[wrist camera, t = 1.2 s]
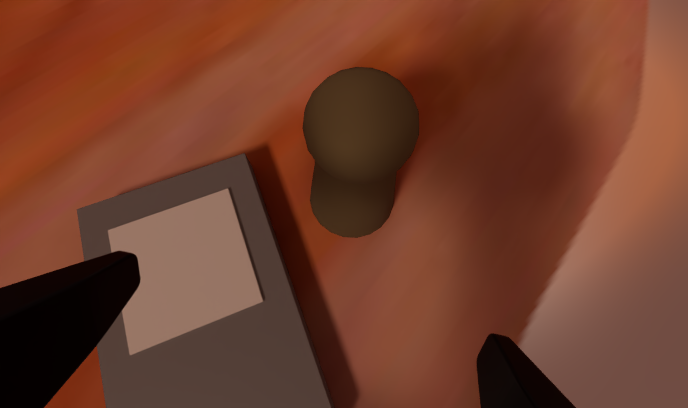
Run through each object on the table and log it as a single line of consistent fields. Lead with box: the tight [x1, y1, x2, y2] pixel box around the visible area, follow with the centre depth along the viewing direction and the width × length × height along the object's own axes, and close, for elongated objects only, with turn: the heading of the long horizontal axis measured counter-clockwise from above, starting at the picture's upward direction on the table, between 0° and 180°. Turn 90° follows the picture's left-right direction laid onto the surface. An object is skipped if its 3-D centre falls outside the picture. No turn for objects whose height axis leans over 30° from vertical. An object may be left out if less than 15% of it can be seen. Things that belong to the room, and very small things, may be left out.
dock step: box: [77, 153, 335, 408], centre depth 20 cm, size 18×11×2 cm, turn 22°
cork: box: [303, 67, 419, 238], centre depth 18 cm, size 6×6×11 cm
